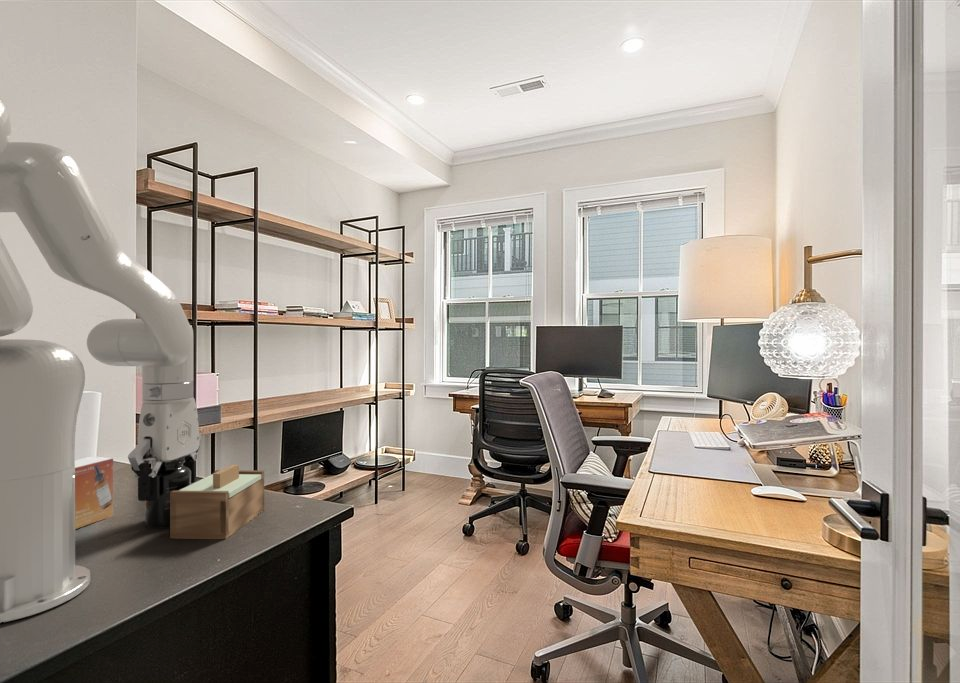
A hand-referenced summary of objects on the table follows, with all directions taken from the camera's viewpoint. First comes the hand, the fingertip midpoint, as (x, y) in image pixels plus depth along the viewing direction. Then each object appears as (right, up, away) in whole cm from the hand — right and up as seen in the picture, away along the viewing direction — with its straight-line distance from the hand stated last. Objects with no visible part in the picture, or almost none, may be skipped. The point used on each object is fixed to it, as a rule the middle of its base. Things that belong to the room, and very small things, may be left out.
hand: (168, 491), depth 85 cm
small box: (-15, -6, -1) cm, 16 cm away
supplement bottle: (0, -6, 0) cm, 6 cm away
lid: (+10, +1, -1) cm, 10 cm away
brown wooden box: (+10, -5, -1) cm, 11 cm away
